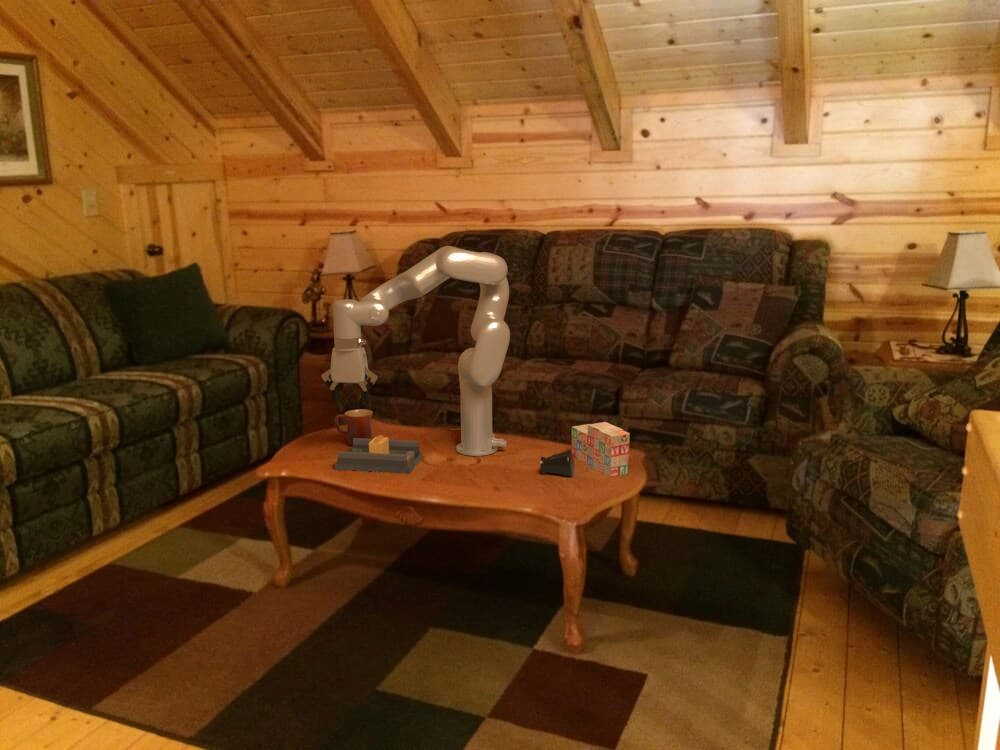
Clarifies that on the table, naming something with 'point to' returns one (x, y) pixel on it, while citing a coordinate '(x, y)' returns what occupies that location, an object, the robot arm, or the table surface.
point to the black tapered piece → (558, 464)
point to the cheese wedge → (379, 445)
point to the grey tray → (378, 454)
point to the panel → (411, 463)
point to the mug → (356, 424)
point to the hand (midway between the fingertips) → (350, 402)
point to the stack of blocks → (602, 447)
